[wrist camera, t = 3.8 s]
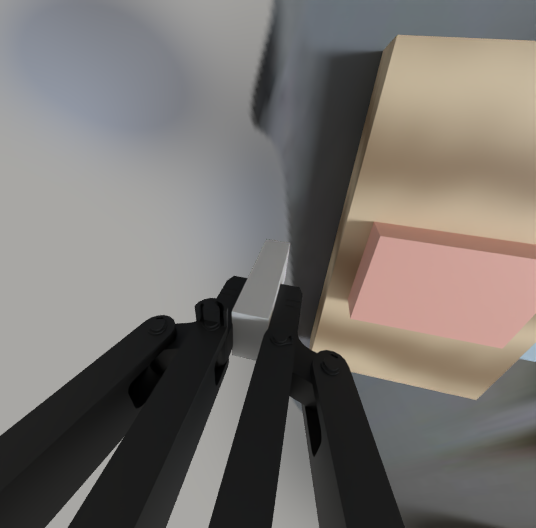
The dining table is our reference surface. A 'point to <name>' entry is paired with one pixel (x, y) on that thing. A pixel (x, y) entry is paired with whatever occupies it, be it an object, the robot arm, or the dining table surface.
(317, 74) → the dining table surface
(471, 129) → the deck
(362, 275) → the card
